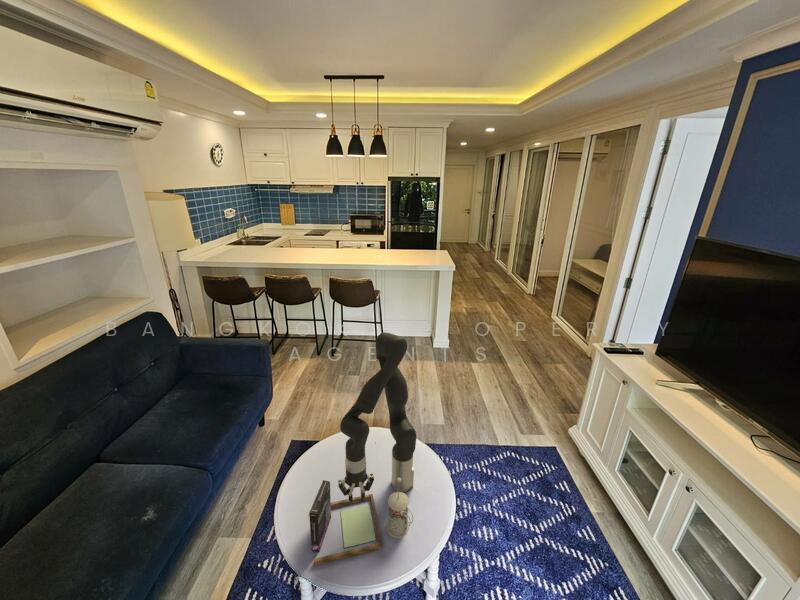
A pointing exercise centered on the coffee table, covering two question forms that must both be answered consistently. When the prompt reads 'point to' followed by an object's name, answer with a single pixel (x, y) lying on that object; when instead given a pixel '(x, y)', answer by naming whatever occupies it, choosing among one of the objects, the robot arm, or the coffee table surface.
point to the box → (320, 516)
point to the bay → (355, 530)
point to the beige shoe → (398, 514)
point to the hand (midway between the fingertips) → (356, 499)
